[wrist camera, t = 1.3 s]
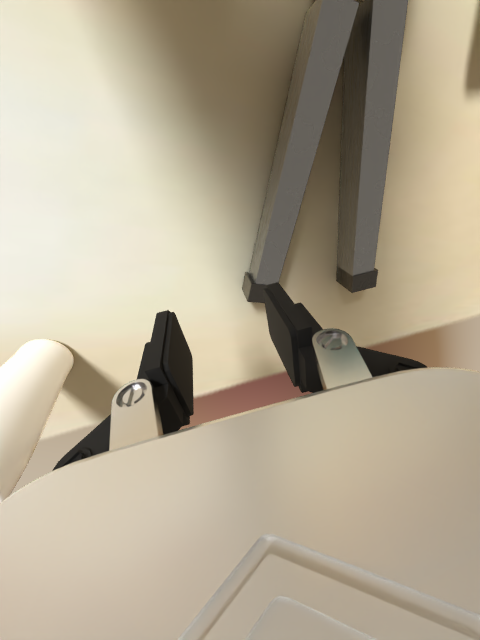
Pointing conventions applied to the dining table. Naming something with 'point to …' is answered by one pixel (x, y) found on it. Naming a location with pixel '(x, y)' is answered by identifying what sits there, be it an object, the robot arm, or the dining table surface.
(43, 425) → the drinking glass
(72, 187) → the dining table surface
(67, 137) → the dining table surface
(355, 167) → the tongs frame
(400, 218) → the dining table surface
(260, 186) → the dining table surface
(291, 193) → the bar
